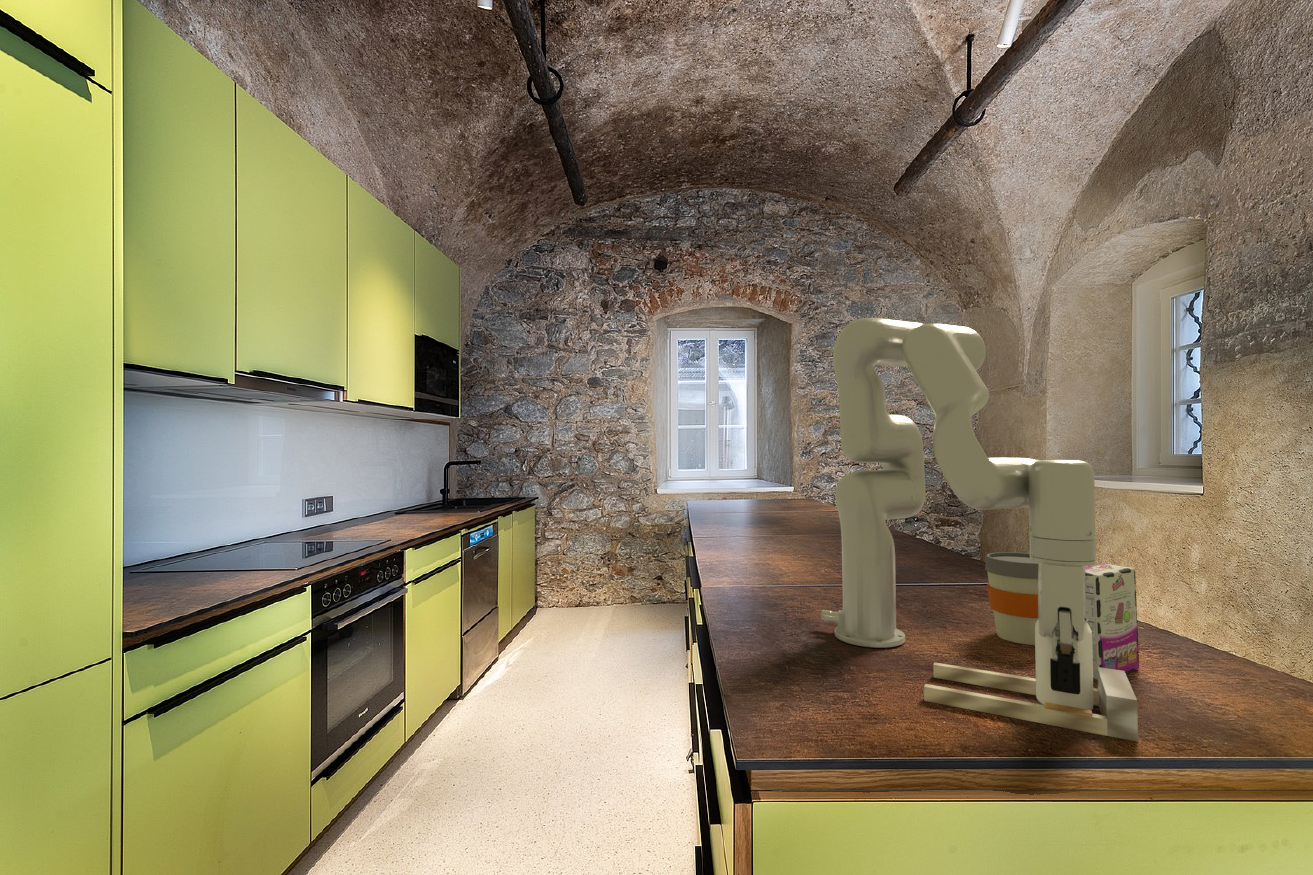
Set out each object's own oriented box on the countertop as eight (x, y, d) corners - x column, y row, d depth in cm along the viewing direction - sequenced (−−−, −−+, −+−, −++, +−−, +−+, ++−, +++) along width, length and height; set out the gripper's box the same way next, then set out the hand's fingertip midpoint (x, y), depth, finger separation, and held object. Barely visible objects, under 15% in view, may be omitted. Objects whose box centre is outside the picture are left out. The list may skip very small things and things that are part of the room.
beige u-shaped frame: (924, 700, 86) (923, 665, 87) (934, 675, 96) (934, 643, 96) (1138, 741, 74) (1137, 700, 74) (1125, 707, 84) (1124, 670, 84)
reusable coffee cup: (984, 641, 113) (982, 559, 113) (988, 624, 124) (986, 550, 124) (1065, 652, 106) (1063, 566, 107) (1062, 633, 117) (1060, 555, 117)
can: (1103, 717, 79) (1101, 624, 79) (1047, 713, 80) (1046, 621, 80) (1079, 697, 85) (1077, 611, 85) (1028, 693, 87) (1027, 608, 87)
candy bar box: (1105, 660, 102) (1103, 562, 102) (1140, 670, 98) (1138, 567, 98) (1067, 672, 97) (1065, 569, 97) (1102, 683, 93) (1099, 574, 93)
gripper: (1029, 539, 92) (1031, 658, 92) (1029, 557, 78) (1031, 699, 77) (1089, 543, 89) (1091, 667, 88) (1102, 563, 74) (1105, 712, 73)
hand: (1063, 681), depth 83 cm, fingers closed on can, 6 cm apart
